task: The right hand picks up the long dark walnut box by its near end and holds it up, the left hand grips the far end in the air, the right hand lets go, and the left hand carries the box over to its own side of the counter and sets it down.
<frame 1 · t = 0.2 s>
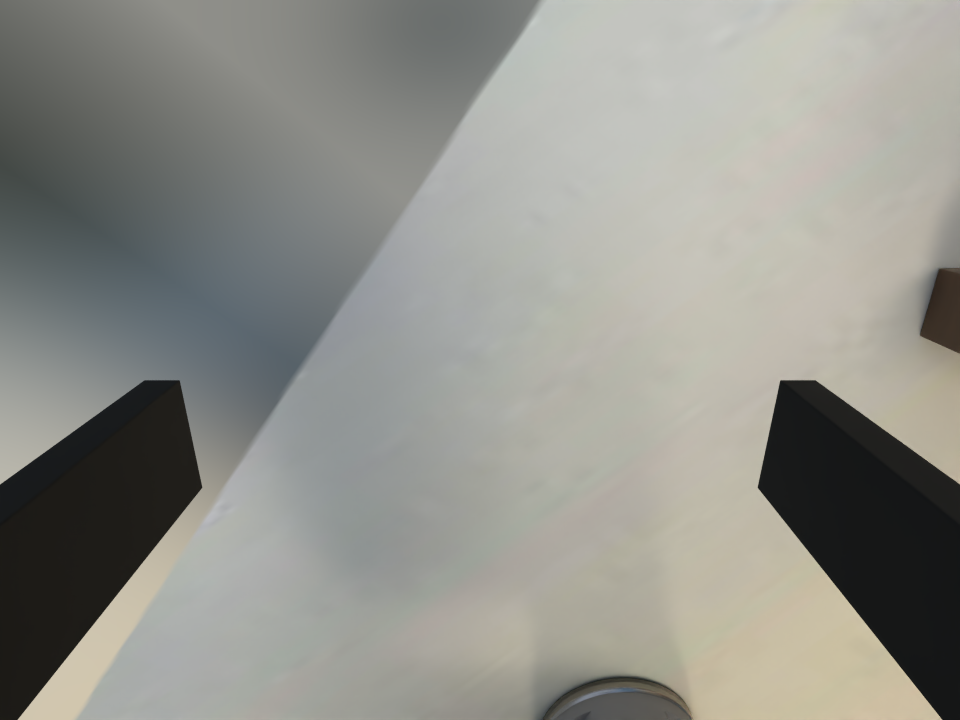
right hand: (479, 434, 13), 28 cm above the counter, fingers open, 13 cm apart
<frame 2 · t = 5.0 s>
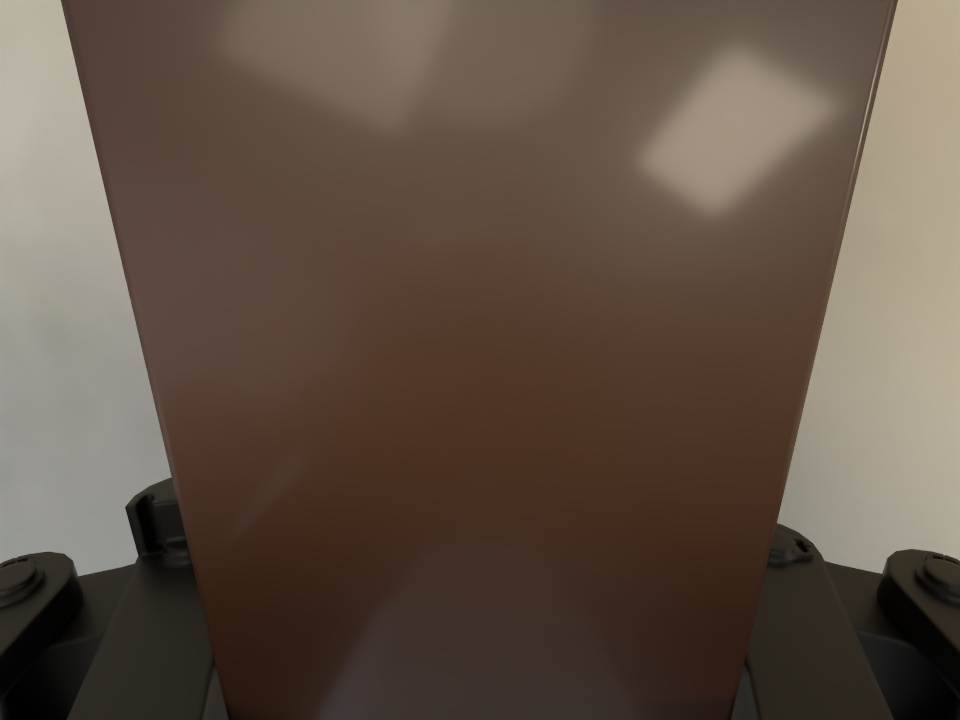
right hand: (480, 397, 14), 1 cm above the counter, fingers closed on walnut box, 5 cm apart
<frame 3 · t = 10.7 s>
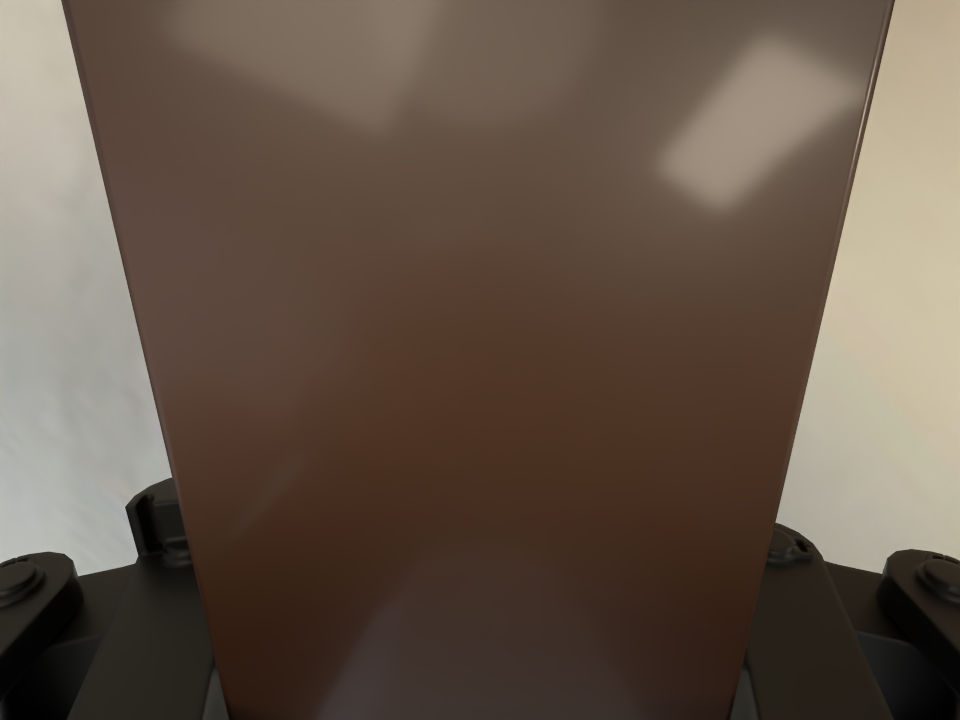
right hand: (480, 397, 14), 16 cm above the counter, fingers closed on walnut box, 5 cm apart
when the right hand's fingers open (16 cm above the counter, at t = 11.5 s): walnut box stays where it is, held by the left hand.
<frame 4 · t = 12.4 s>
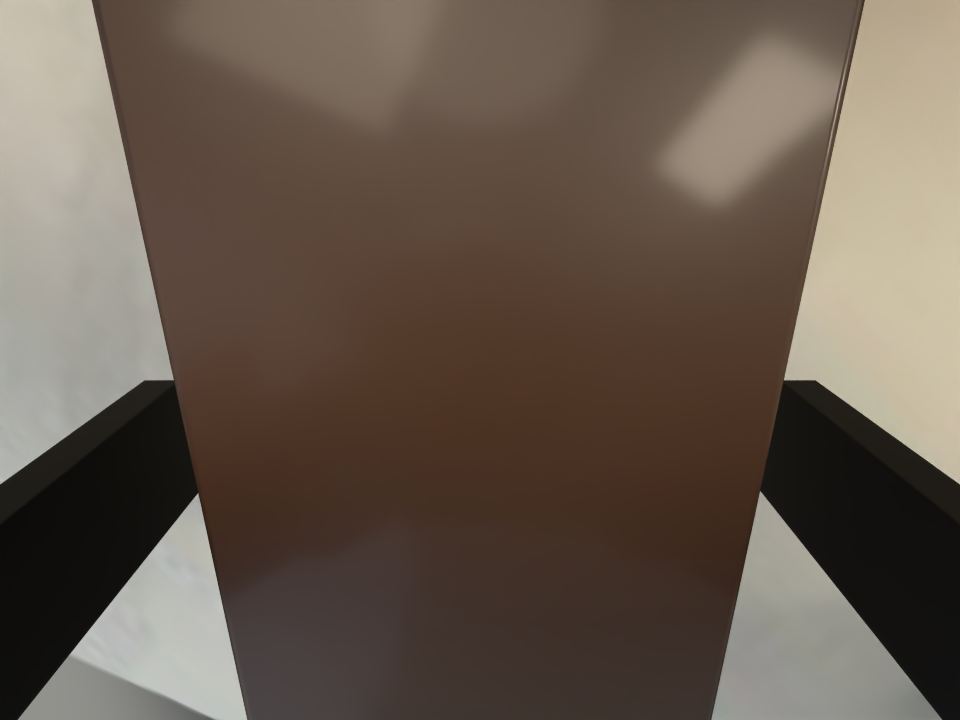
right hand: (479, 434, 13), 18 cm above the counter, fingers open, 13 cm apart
when the left hand's fingers open (3 cm above the counter, at t = 22.7 s): walnut box drops 2 cm, on the counter.
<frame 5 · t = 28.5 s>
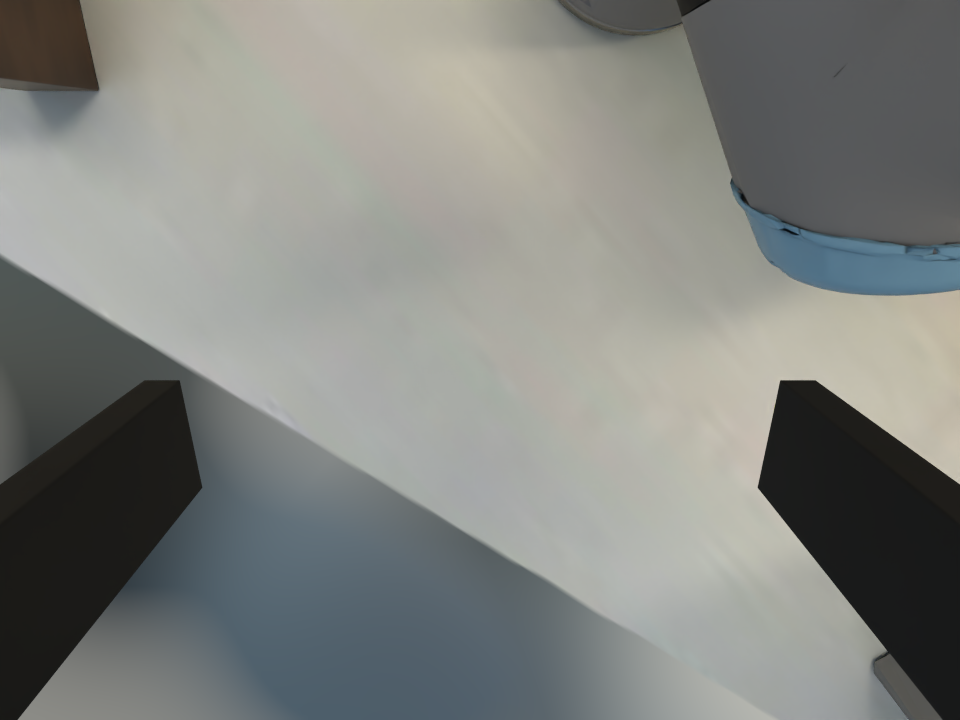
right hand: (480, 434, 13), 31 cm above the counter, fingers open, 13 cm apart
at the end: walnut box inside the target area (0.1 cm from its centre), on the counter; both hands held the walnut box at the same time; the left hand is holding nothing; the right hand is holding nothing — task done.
